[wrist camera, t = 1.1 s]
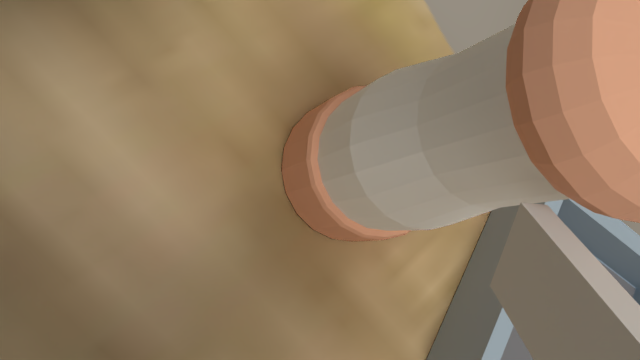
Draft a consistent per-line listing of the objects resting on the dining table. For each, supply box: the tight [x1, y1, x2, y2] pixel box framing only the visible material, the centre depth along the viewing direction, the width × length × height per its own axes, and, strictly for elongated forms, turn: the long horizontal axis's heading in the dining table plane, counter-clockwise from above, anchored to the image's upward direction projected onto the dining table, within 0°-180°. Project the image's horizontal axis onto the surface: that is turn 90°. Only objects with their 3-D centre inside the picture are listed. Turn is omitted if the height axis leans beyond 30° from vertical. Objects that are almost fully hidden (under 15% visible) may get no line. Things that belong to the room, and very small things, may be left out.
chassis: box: [426, 199, 640, 360], centre depth 32 cm, size 15×16×4 cm
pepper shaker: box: [282, 0, 640, 241], centre depth 20 cm, size 7×7×19 cm
